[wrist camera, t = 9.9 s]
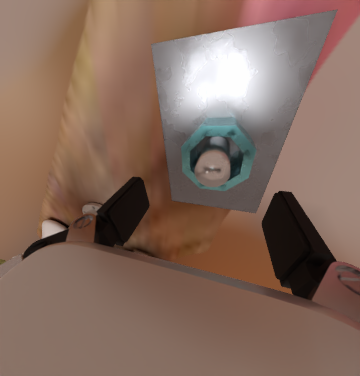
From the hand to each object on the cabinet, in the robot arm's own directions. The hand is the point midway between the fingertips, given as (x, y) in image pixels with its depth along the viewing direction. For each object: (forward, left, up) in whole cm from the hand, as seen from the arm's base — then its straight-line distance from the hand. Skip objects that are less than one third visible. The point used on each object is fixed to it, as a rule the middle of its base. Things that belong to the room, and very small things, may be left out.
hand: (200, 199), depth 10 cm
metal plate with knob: (0, 0, -10) cm, 10 cm away
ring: (0, -1, -9) cm, 9 cm away
